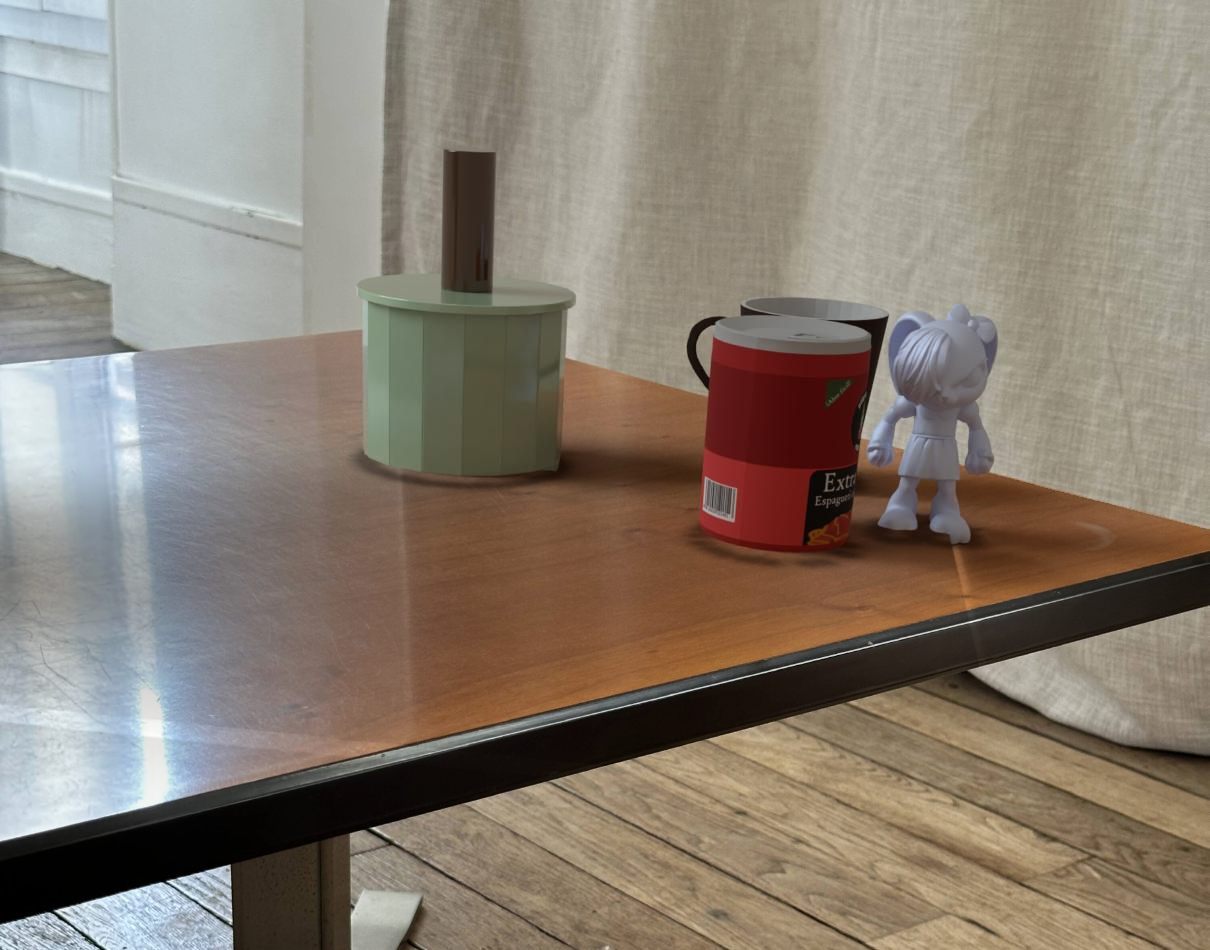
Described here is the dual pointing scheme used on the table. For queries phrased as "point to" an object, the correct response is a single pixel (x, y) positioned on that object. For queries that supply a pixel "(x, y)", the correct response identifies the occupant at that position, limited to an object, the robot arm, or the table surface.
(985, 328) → the toy figurine
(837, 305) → the coffee mug
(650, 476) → the table surface
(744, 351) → the canned food
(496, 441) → the canister
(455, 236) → the lid
